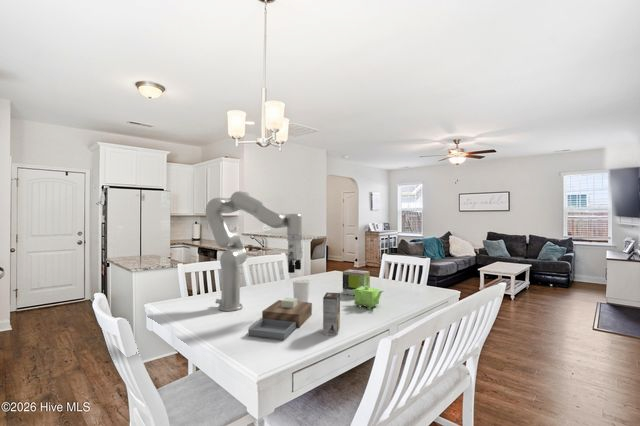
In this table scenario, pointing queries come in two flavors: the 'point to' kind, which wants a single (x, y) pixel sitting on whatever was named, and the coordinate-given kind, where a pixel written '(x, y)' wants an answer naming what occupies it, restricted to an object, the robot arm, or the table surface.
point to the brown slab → (288, 312)
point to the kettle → (366, 296)
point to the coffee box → (331, 313)
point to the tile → (289, 302)
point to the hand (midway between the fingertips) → (294, 271)
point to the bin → (272, 329)
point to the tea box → (355, 280)
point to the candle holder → (301, 290)
